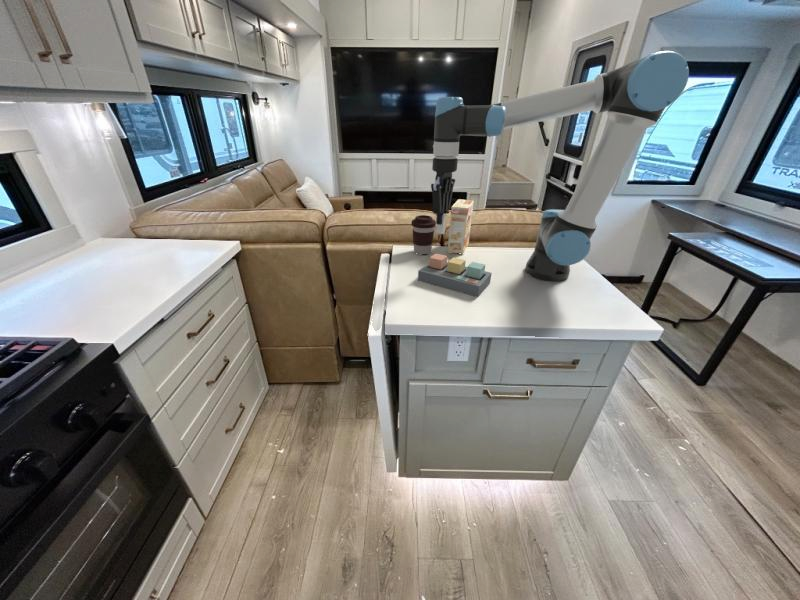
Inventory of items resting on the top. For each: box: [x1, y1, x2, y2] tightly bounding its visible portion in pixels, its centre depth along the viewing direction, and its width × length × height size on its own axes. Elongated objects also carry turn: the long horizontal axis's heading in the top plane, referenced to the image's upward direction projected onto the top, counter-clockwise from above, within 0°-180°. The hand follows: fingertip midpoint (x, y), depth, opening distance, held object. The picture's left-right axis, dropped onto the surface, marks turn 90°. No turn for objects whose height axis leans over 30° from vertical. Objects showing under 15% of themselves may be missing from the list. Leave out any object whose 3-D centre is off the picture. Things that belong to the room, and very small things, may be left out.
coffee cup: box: [410, 214, 436, 255], centre depth 134 cm, size 10×10×15 cm
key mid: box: [447, 257, 467, 274], centre depth 111 cm, size 5×5×4 cm
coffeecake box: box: [447, 198, 475, 255], centre depth 138 cm, size 15×7×20 cm, turn 160°
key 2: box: [466, 261, 486, 279], centre depth 108 cm, size 5×5×4 cm
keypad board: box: [417, 261, 493, 298], centre depth 112 cm, size 22×12×4 cm, turn 58°
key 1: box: [428, 253, 448, 270], centre depth 115 cm, size 5×5×4 cm
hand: (440, 232), depth 109 cm, fingers closed
